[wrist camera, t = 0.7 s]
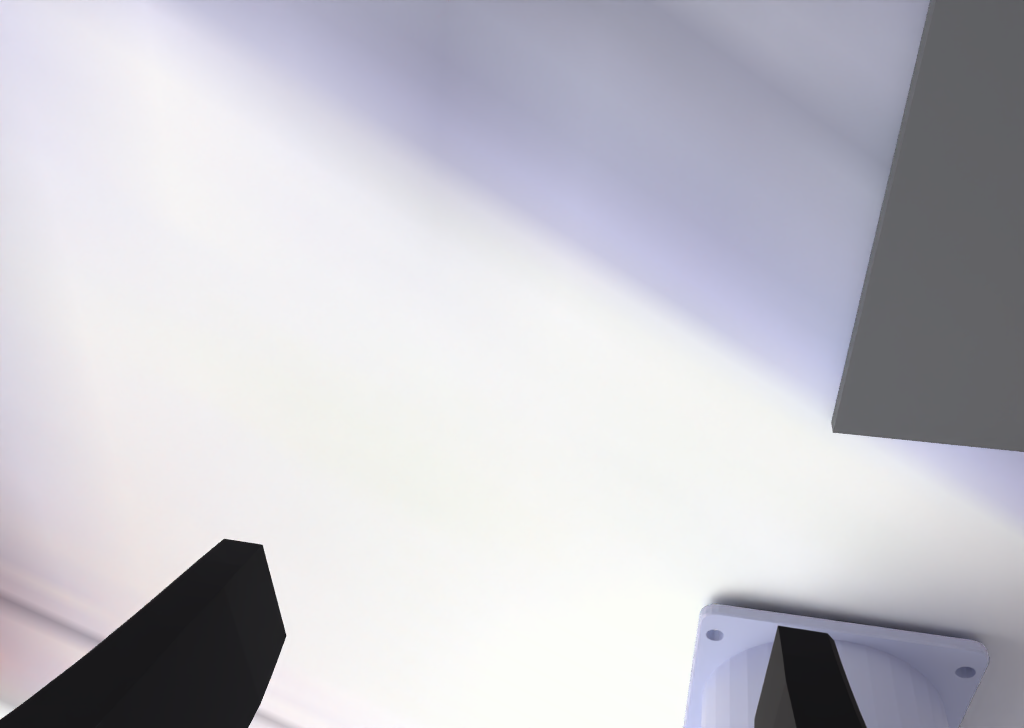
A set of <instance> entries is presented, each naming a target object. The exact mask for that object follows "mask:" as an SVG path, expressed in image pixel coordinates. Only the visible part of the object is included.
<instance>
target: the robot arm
mask: <svg viewBox="0 0 1024 728" xmlns="http://www.w3.org/2000/svg"><path fill="white" fill-rule="evenodd" d="M285 638H286V633H285V629H284V625H283V621H282V617H281V614H280V610H279V606H278V602H277V598H276V595H275V591H274V587H273V583H272V579H271V575H270V572H269V568H268V564H267V560H266V556H265V553H264V549H263V545H260V544H254V543H248V542H241V541H235V540H229V539H223V540H222V541H221V542H220V543H218V544H217V545H216V546H215V547H214V548H212V549H211V550H210V551H209V552H207V553H206V554H205V555H204V556H203V557H201V558H200V559H199V560H198V561H197V562H196V563H194V564H193V565H192V566H191V567H190V568H189V569H187V570H186V571H185V572H184V573H183V574H182V575H180V576H179V577H178V578H177V579H176V580H175V581H173V582H172V583H171V584H170V585H169V586H168V587H166V588H165V589H164V590H163V591H162V592H161V593H159V594H158V595H157V596H156V597H155V598H154V599H152V600H151V601H150V602H149V603H148V604H146V605H145V606H144V607H143V608H142V609H141V610H139V611H138V612H137V613H136V614H135V615H134V616H132V617H131V618H130V619H129V620H127V621H126V622H125V623H124V624H123V625H121V626H120V627H119V628H118V629H117V630H115V631H114V632H113V633H112V634H110V635H109V636H108V637H107V638H106V639H104V640H103V641H102V642H101V643H100V644H98V645H97V646H96V647H95V648H93V649H92V650H91V651H90V652H89V653H87V654H86V655H85V656H84V657H82V658H81V659H80V660H79V661H77V662H76V663H75V664H74V665H72V666H71V667H70V668H68V669H67V670H66V671H64V672H63V673H62V674H60V675H59V676H58V677H57V678H55V679H54V680H53V681H51V682H50V683H49V684H47V685H46V686H45V687H43V688H42V689H41V690H40V691H38V692H37V693H36V694H34V695H33V696H32V697H30V698H29V699H28V700H26V701H25V702H24V703H23V704H21V705H20V706H18V707H17V708H16V709H14V710H13V711H12V712H10V713H9V714H7V715H6V716H5V717H3V718H2V719H0V728H248V727H249V725H250V723H251V721H252V719H253V717H254V715H255V713H256V711H257V709H258V708H259V706H260V704H261V701H262V699H263V696H264V694H265V691H266V689H267V686H268V684H269V681H270V679H271V676H272V674H273V671H274V668H275V665H276V663H277V660H278V657H279V655H280V652H281V649H282V646H283V644H284V641H285ZM988 664H989V655H988V652H987V649H986V647H985V646H984V645H983V644H981V643H980V642H977V641H974V640H969V639H962V638H955V637H948V636H940V635H933V634H926V633H919V632H912V631H905V630H898V629H891V628H884V627H877V626H870V625H863V624H856V623H849V622H842V621H835V620H827V619H820V618H813V617H806V616H799V615H792V614H785V613H778V612H771V611H764V610H757V609H750V608H743V607H736V606H729V605H721V604H711V605H707V606H705V607H704V608H702V610H701V612H700V616H699V623H698V630H697V637H696V644H695V651H694V657H693V664H692V671H691V678H690V685H689V692H688V699H687V706H686V713H685V719H684V726H683V728H959V726H960V724H961V722H962V719H963V717H964V715H965V713H966V711H967V709H968V707H969V705H970V702H971V700H972V698H973V696H974V694H975V692H976V690H977V687H978V685H979V683H980V681H981V679H982V677H983V675H984V672H985V670H986V668H987V666H988Z"/></svg>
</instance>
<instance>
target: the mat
mask: <svg viewBox="0 0 1024 728" xmlns="http://www.w3.org/2000/svg"><path fill="white" fill-rule="evenodd" d="M831 423H832V430H833V433H843V434H853V435H863V436H872V437H882V438H892V439H902V440H912V441H922V442H931V443H941V444H951V445H961V446H971V447H981V448H990V449H1000V450H1010V451H1020V452H1024V0H930V4H929V9H928V13H927V17H926V21H925V26H924V30H923V34H922V38H921V43H920V47H919V51H918V55H917V60H916V64H915V68H914V72H913V77H912V81H911V85H910V90H909V94H908V98H907V102H906V107H905V111H904V115H903V119H902V124H901V128H900V132H899V136H898V141H897V145H896V149H895V153H894V158H893V162H892V166H891V170H890V175H889V179H888V183H887V187H886V192H885V196H884V200H883V205H882V209H881V213H880V217H879V222H878V226H877V230H876V234H875V239H874V243H873V247H872V251H871V256H870V260H869V264H868V268H867V273H866V277H865V281H864V285H863V290H862V294H861V298H860V302H859V307H858V311H857V315H856V319H855V324H854V328H853V332H852V337H851V341H850V345H849V349H848V354H847V358H846V362H845V366H844V371H843V375H842V379H841V383H840V388H839V392H838V396H837V400H836V405H835V409H834V413H833V417H832V422H831Z"/></svg>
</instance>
